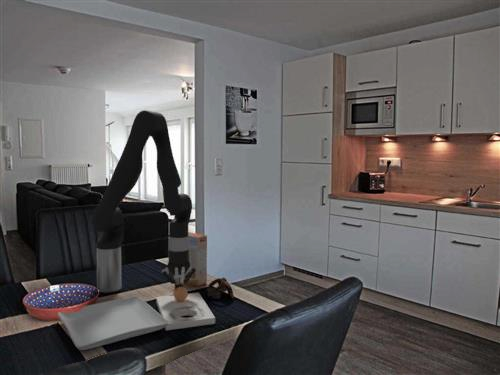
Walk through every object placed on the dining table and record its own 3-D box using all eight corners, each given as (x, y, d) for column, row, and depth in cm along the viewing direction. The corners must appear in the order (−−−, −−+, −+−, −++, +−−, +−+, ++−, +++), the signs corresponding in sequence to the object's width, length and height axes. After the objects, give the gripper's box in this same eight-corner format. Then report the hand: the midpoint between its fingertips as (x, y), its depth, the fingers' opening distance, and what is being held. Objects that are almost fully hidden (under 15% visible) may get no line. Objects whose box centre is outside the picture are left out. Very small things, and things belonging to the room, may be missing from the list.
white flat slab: (165, 330, 125) (165, 324, 125) (156, 302, 148) (156, 297, 147) (215, 323, 131) (215, 317, 130) (198, 297, 153) (198, 292, 153)
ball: (175, 303, 141) (175, 290, 141) (172, 298, 146) (172, 285, 146) (188, 302, 143) (189, 288, 143) (186, 297, 148) (186, 284, 147)
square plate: (56, 322, 130) (56, 311, 130) (138, 304, 146) (138, 294, 146) (77, 358, 108) (76, 345, 108) (170, 332, 124) (170, 320, 124)
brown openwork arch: (234, 303, 150) (224, 286, 147) (212, 312, 152) (202, 295, 149) (237, 284, 161) (227, 268, 158) (216, 293, 163) (207, 277, 160)
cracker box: (207, 283, 169) (207, 234, 167) (197, 287, 165) (198, 237, 163) (183, 276, 178) (183, 230, 176) (173, 280, 173) (173, 232, 171)
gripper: (194, 244, 153) (194, 288, 155) (159, 246, 149) (159, 292, 150) (198, 249, 146) (198, 295, 148) (162, 251, 142) (162, 299, 143)
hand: (178, 293), depth 149 cm, fingers closed
